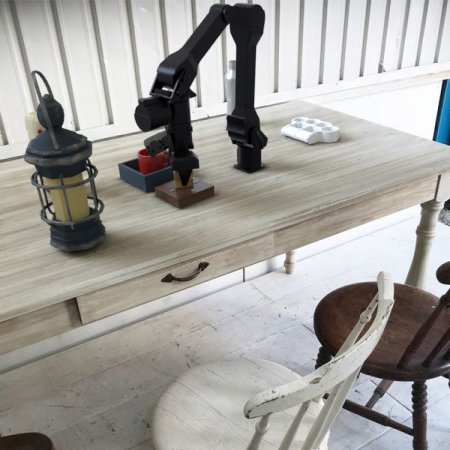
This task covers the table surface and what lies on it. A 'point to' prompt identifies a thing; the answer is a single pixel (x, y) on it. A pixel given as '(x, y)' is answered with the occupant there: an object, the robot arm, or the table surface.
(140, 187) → the dark blue tray
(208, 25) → the robot arm
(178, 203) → the panel
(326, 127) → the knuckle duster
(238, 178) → the table surface
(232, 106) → the plastic bottle
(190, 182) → the tap knob
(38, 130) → the food model
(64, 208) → the lantern
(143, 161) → the mug
